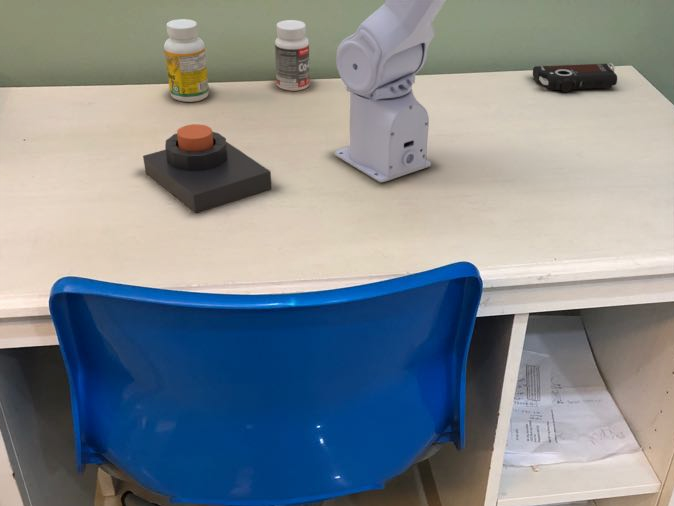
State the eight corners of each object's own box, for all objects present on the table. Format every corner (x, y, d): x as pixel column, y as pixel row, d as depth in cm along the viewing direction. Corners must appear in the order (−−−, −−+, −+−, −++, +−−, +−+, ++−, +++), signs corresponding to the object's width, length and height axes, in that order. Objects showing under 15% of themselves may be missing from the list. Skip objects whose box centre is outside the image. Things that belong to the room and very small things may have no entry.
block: (271, 188, 100) (270, 156, 98) (195, 213, 96) (191, 179, 93) (218, 152, 107) (215, 120, 105) (145, 173, 103) (140, 140, 100)
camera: (620, 75, 123) (545, 78, 123) (616, 93, 125) (542, 96, 125) (607, 55, 128) (534, 58, 127) (603, 74, 130) (531, 77, 129)
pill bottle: (305, 92, 122) (303, 31, 117) (272, 89, 123) (269, 28, 118) (313, 80, 126) (312, 20, 120) (281, 77, 127) (279, 17, 121)
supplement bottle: (212, 100, 119) (205, 28, 113) (173, 104, 118) (164, 31, 112) (205, 86, 123) (198, 15, 117) (167, 90, 122) (158, 18, 116)
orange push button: (220, 147, 100) (218, 133, 99) (189, 156, 98) (187, 141, 97) (202, 135, 102) (201, 121, 101) (172, 143, 100) (170, 129, 99)
